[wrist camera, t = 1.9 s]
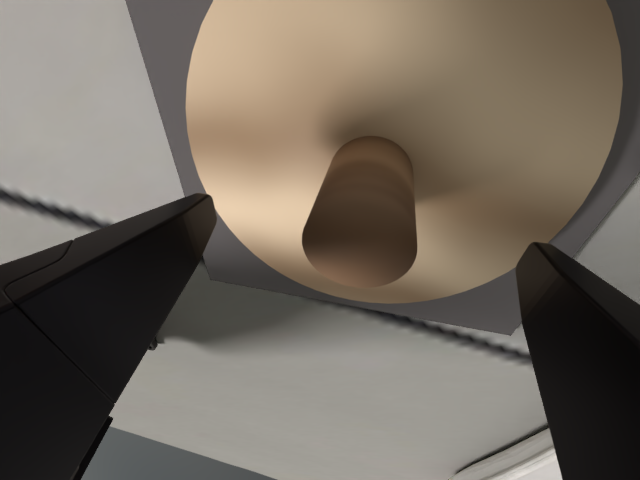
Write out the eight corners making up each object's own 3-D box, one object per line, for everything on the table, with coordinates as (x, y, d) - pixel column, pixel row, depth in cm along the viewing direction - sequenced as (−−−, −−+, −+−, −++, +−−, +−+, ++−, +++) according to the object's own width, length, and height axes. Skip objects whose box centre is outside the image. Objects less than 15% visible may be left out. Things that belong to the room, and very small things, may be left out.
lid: (492, 313, 15) (521, 415, 11) (229, 266, 17) (183, 341, 13) (772, -115, 6) (1328, -268, 2) (142, -109, 8) (-73, -190, 4)
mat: (508, 329, 16) (510, 335, 16) (213, 274, 18) (210, 279, 18) (943, -241, 5) (976, -254, 5) (76, -199, 7) (63, -206, 7)
